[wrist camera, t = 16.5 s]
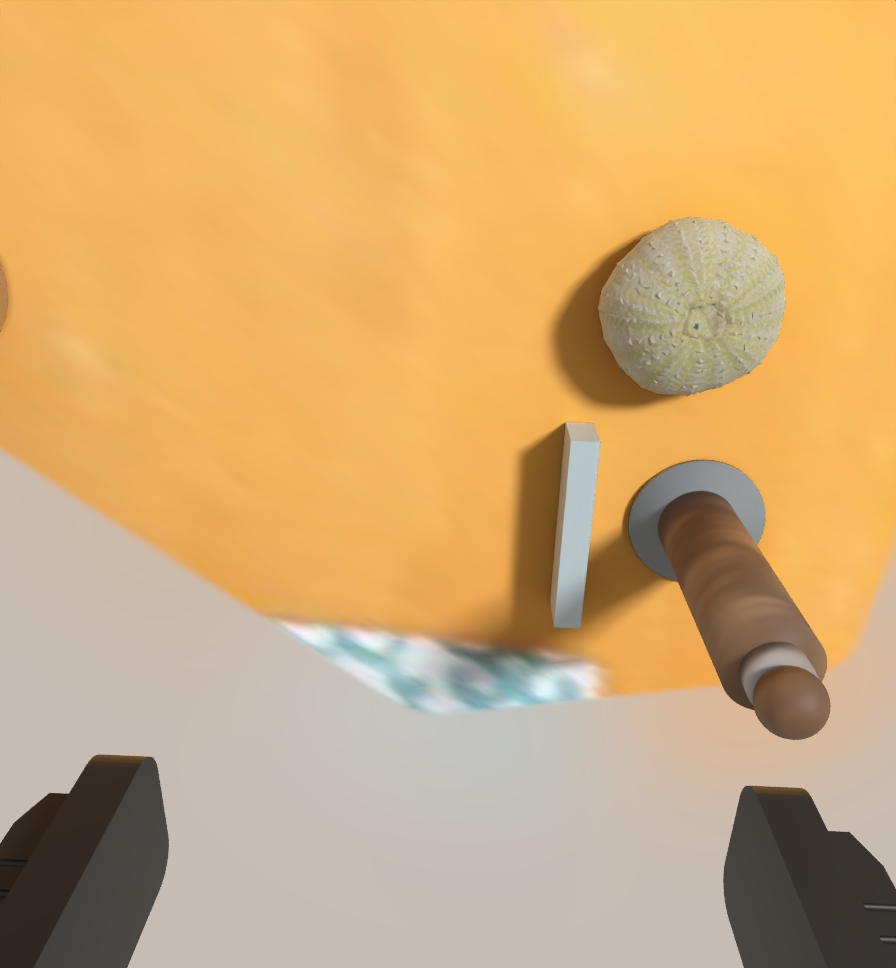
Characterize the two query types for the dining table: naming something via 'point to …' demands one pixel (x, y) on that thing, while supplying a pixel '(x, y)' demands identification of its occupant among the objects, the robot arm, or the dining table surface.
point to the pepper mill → (745, 616)
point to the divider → (574, 523)
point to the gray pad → (687, 480)
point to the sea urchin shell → (692, 306)
